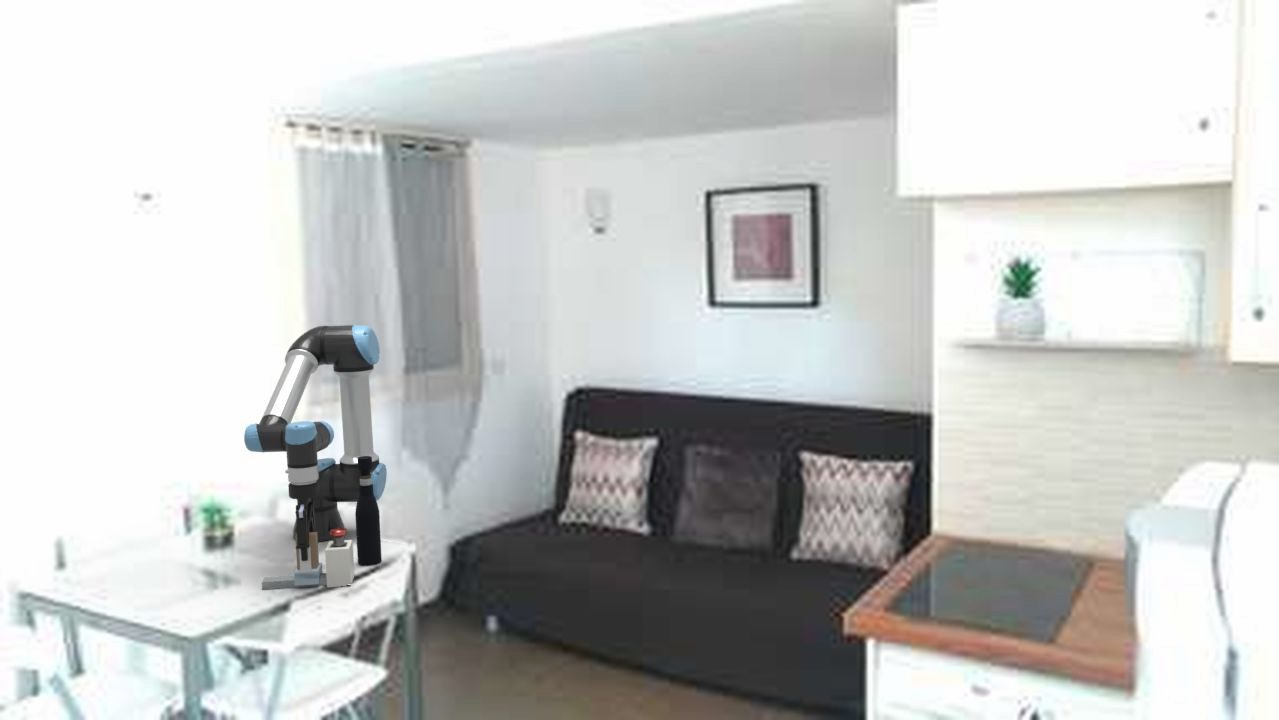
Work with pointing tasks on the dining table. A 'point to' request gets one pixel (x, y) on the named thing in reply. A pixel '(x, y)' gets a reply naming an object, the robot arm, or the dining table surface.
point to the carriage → (316, 567)
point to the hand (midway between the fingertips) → (308, 567)
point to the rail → (288, 582)
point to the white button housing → (339, 564)
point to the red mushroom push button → (338, 537)
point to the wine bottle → (367, 518)
